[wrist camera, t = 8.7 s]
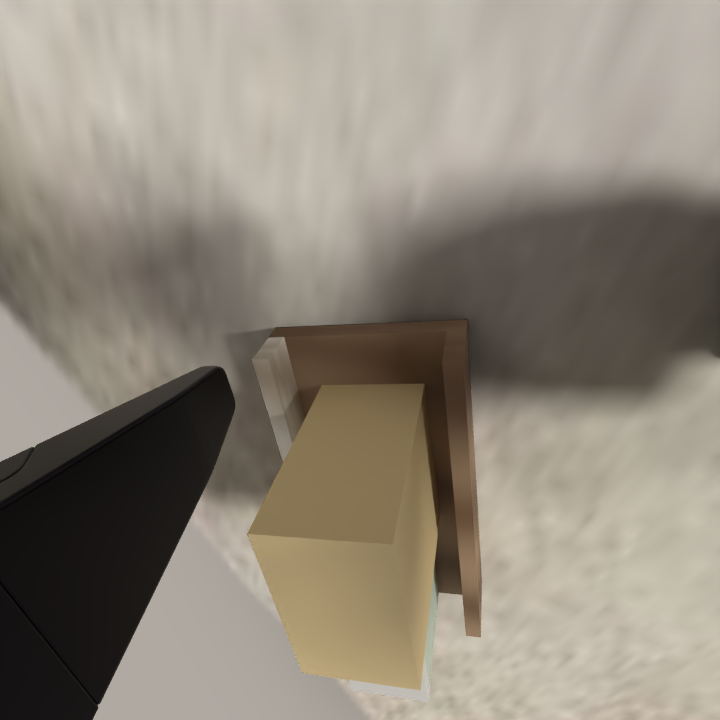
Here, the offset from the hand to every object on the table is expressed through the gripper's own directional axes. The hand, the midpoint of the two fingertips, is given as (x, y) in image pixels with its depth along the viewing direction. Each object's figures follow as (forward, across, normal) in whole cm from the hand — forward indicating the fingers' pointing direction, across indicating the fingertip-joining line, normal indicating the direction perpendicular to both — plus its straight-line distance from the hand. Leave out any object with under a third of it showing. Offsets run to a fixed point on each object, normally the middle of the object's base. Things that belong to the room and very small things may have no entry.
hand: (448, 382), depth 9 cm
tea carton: (+12, +5, +12) cm, 17 cm away
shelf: (+12, +5, +14) cm, 19 cm away
